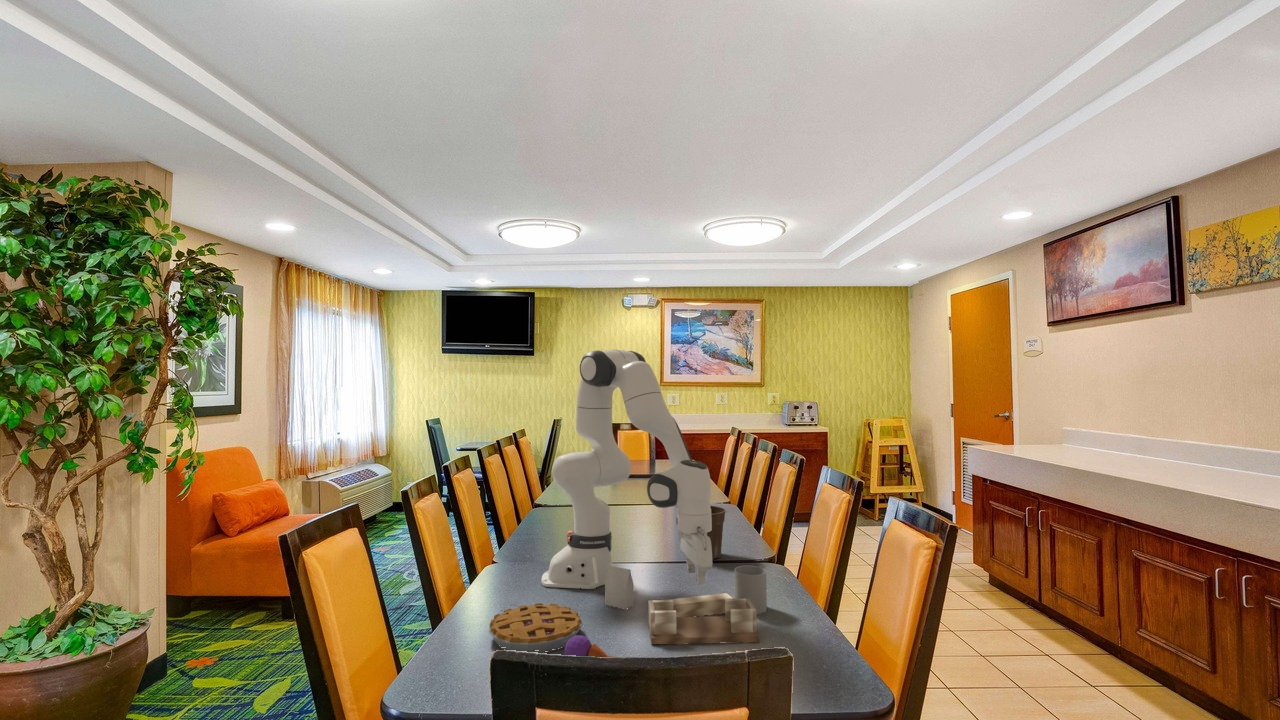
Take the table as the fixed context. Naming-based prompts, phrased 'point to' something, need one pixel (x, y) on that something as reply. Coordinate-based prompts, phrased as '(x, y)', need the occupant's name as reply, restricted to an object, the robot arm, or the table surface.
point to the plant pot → (716, 530)
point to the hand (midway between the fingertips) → (695, 577)
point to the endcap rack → (703, 624)
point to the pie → (535, 627)
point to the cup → (751, 586)
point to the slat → (700, 605)
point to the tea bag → (619, 587)
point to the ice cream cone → (583, 647)
